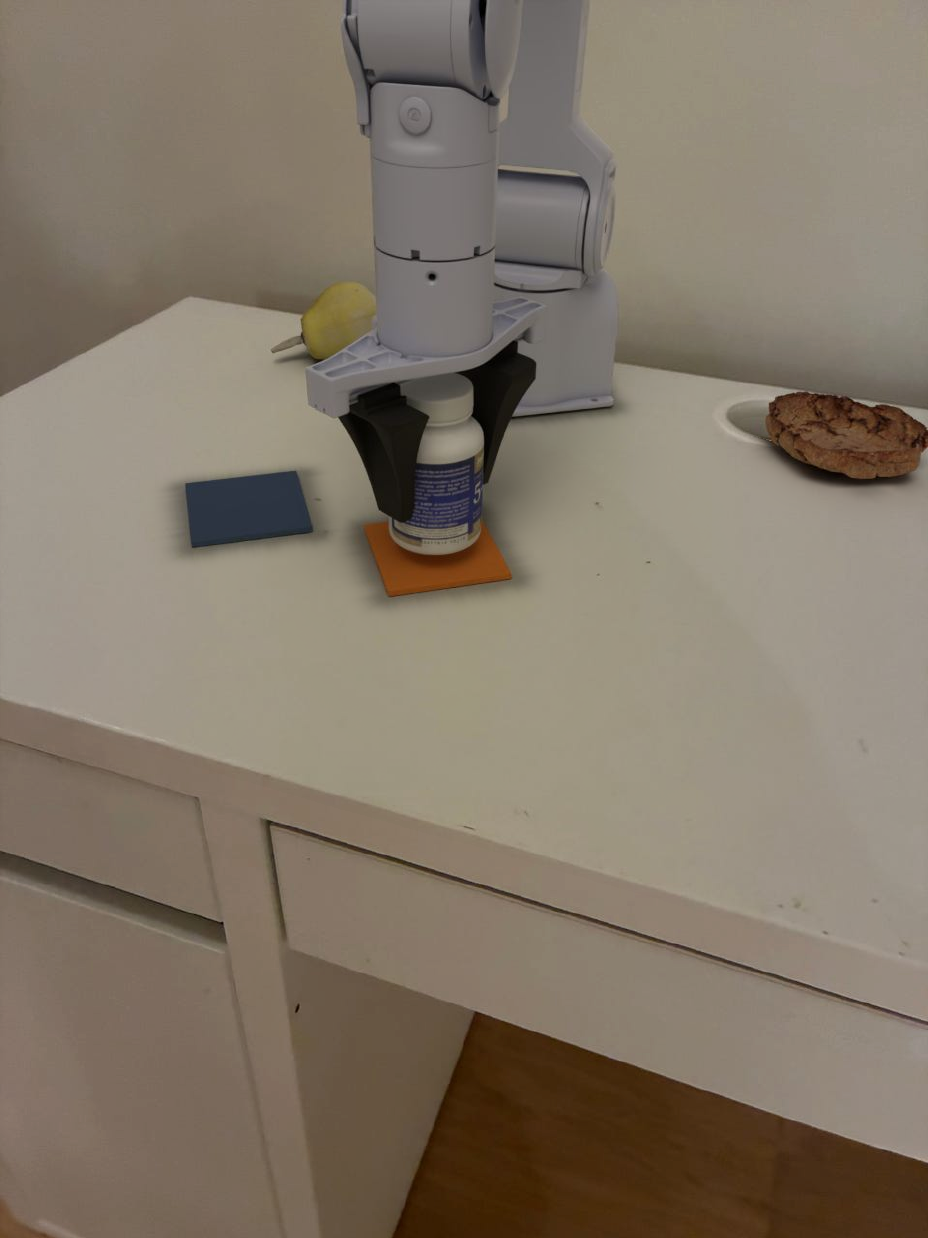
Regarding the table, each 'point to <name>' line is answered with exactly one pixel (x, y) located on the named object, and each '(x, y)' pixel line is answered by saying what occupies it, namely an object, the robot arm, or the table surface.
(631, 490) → the table surface
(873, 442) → the cookie
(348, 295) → the fruit
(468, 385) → the pill bottle
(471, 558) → the amber mat
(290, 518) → the blue mat
